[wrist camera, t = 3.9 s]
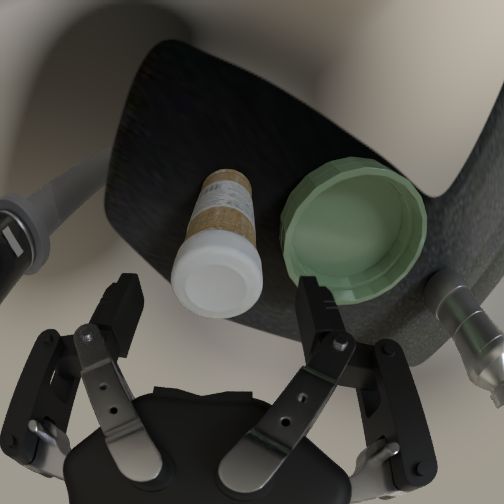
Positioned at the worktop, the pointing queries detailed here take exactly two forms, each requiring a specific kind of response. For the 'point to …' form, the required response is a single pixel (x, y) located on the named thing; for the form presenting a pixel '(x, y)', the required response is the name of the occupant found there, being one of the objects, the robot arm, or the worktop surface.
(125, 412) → the robot arm
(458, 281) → the plastic bottle
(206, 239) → the sprinkles bottle
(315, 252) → the bowl
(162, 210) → the worktop surface
